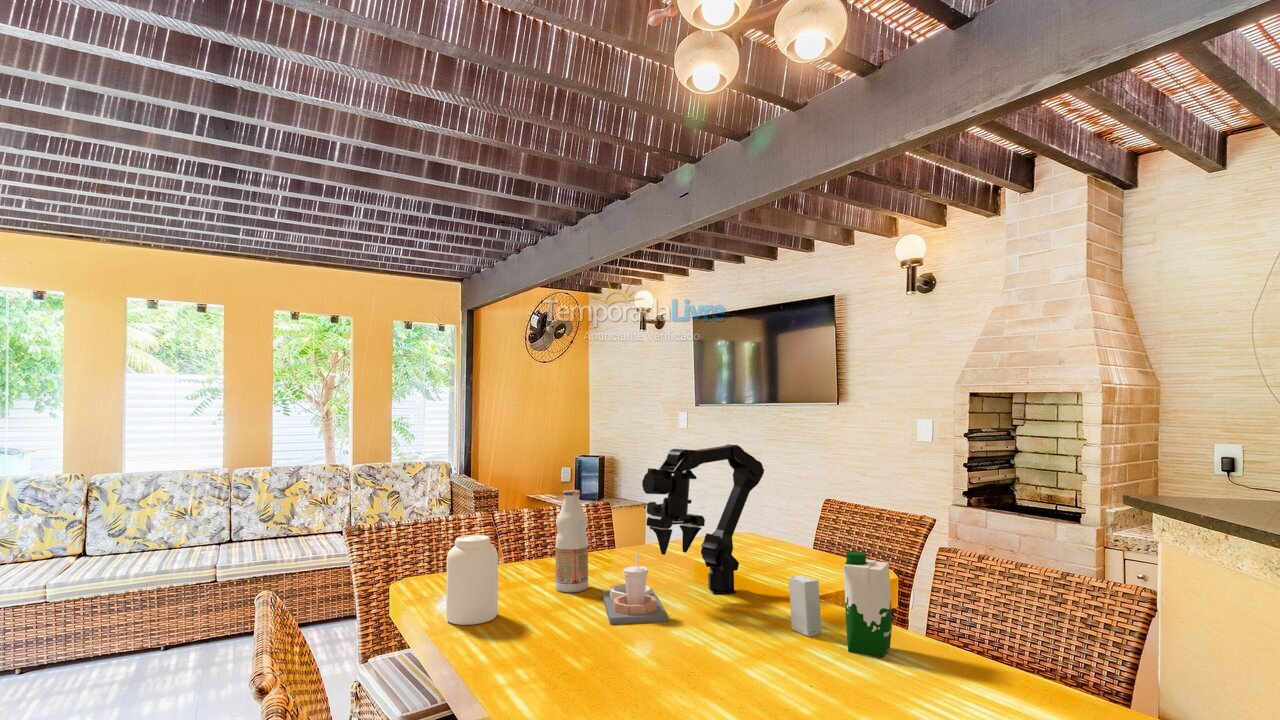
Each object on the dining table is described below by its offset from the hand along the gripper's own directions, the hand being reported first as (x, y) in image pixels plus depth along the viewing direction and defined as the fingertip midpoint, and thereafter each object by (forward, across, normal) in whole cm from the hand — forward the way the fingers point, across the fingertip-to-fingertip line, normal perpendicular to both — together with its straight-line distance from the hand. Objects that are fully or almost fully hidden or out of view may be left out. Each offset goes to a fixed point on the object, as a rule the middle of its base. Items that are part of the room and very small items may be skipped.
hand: (674, 553), depth 180 cm
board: (+14, +11, -3) cm, 18 cm away
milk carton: (+11, +1, +55) cm, 56 cm away
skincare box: (+12, -1, +40) cm, 41 cm away
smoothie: (+13, +14, +1) cm, 19 cm away
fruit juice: (+14, +9, -30) cm, 34 cm away
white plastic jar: (+18, +43, -29) cm, 55 cm away
